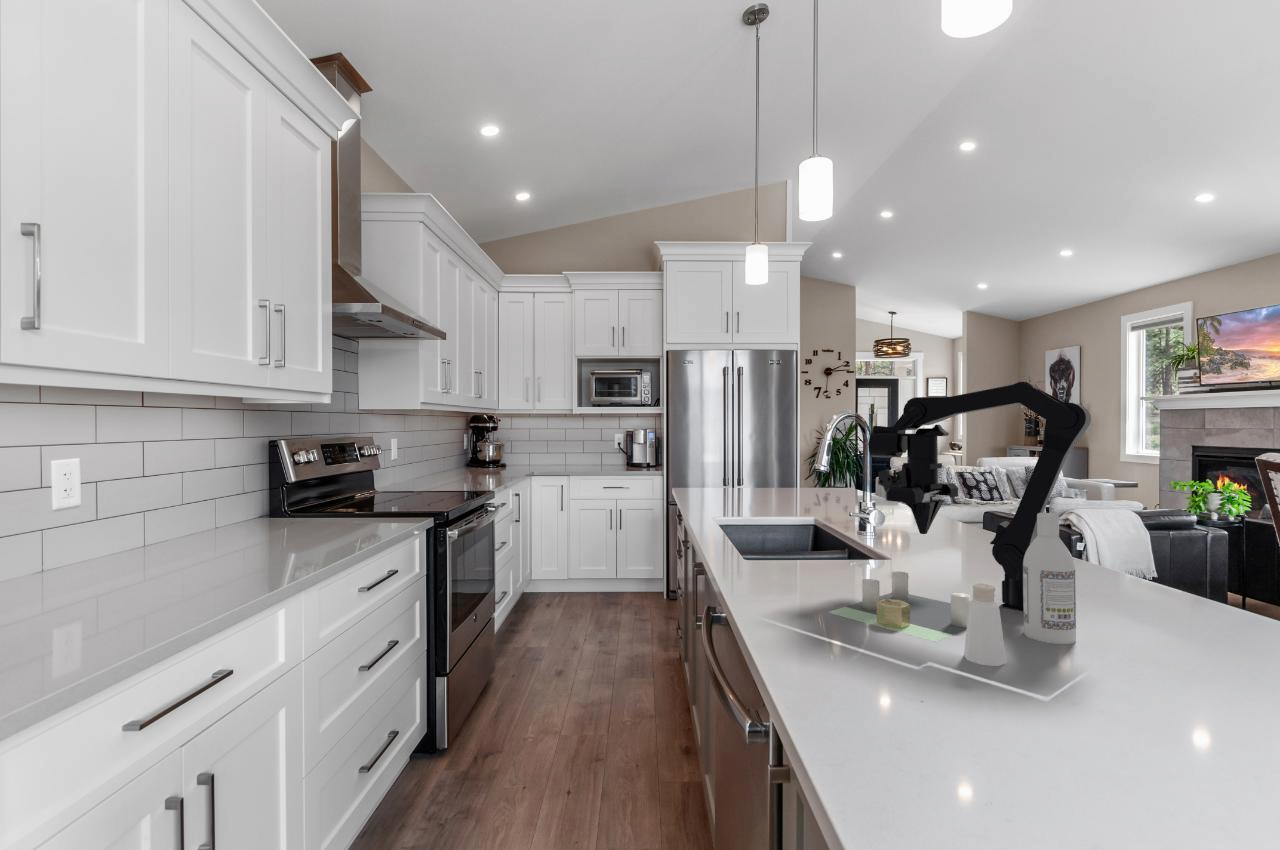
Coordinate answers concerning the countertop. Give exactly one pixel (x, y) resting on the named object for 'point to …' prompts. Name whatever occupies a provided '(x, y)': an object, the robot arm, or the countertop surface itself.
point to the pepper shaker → (984, 629)
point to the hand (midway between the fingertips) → (923, 533)
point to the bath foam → (1049, 586)
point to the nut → (893, 613)
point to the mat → (911, 617)
